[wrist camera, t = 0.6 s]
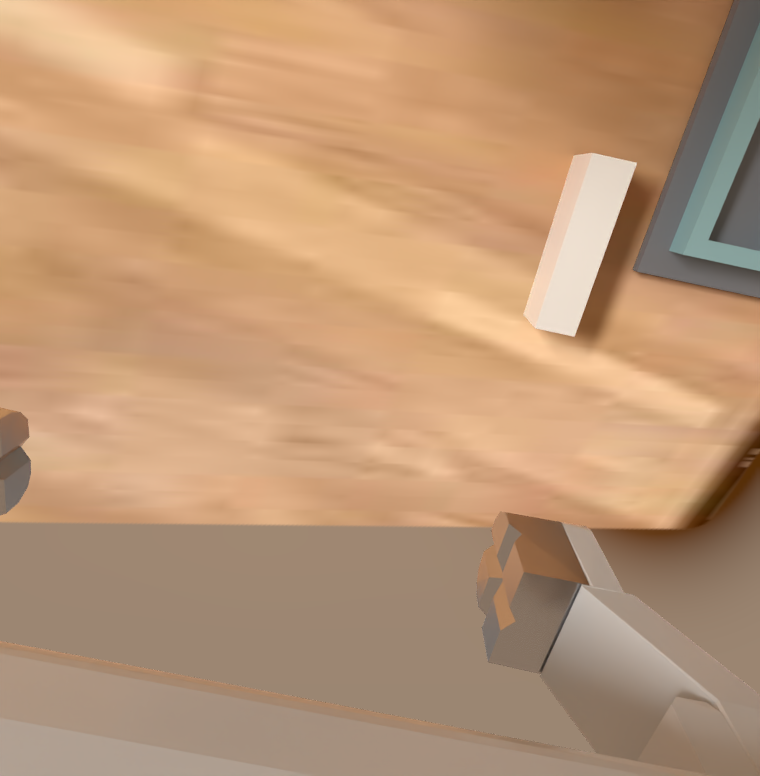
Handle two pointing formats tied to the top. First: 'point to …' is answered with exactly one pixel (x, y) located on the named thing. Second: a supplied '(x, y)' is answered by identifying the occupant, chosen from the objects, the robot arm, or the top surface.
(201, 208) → the top surface
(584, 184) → the long cream plank
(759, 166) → the cradle jig
